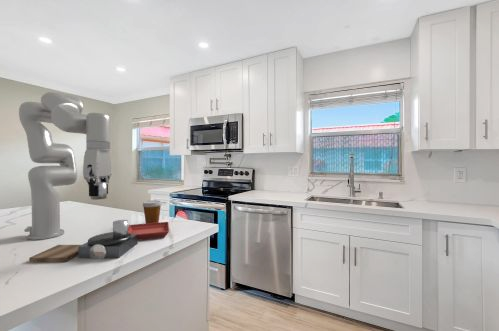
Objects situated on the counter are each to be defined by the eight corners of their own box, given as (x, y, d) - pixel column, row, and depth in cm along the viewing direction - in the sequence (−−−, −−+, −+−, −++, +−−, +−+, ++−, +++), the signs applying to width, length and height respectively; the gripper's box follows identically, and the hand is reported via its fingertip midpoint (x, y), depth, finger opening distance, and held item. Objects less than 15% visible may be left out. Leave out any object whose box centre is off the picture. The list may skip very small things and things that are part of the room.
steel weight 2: (110, 239, 85) (109, 223, 85) (117, 235, 90) (117, 219, 90) (123, 239, 85) (123, 223, 85) (130, 235, 90) (130, 219, 90)
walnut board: (29, 262, 77) (29, 257, 77) (58, 248, 89) (58, 244, 89) (65, 262, 78) (65, 257, 78) (89, 248, 90) (89, 244, 90)
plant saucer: (129, 231, 113) (129, 224, 113) (168, 227, 120) (168, 221, 119) (123, 243, 96) (123, 235, 96) (169, 238, 103) (169, 231, 103)
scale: (76, 261, 80) (76, 244, 80) (103, 245, 95) (102, 231, 95) (117, 261, 80) (117, 244, 80) (137, 245, 95) (137, 231, 95)
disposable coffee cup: (157, 226, 120) (157, 203, 120) (139, 226, 120) (139, 203, 120) (164, 221, 129) (164, 200, 129) (147, 221, 130) (147, 200, 129)
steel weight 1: (87, 199, 85) (87, 183, 85) (96, 197, 90) (96, 181, 90) (101, 199, 85) (101, 183, 85) (109, 197, 90) (109, 181, 90)
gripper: (102, 147, 95) (102, 192, 96) (71, 145, 78) (71, 198, 79) (120, 148, 96) (120, 192, 96) (93, 145, 79) (94, 198, 79)
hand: (98, 194), depth 87 cm, fingers closed on steel weight 1, 5 cm apart
